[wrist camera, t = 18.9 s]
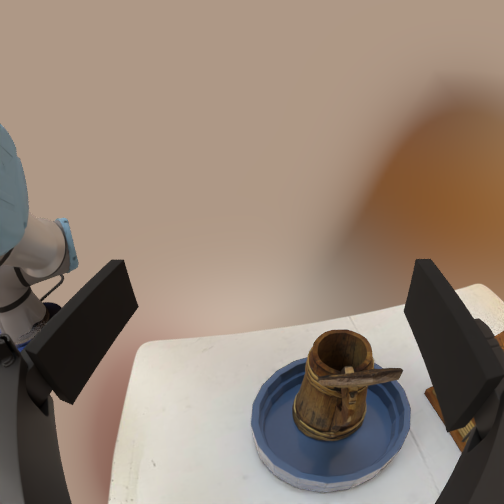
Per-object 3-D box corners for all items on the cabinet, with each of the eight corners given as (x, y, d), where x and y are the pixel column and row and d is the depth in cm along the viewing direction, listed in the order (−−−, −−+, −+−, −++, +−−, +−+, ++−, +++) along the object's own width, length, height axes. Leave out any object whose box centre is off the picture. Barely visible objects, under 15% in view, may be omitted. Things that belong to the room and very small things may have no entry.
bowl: (227, 417, 31) (222, 398, 29) (332, 357, 39) (336, 335, 37) (316, 521, 17) (322, 515, 15) (424, 424, 25) (437, 405, 23)
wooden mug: (288, 476, 22) (295, 380, 14) (293, 384, 34) (295, 263, 26) (371, 471, 21) (439, 367, 13) (359, 381, 33) (386, 262, 25)
